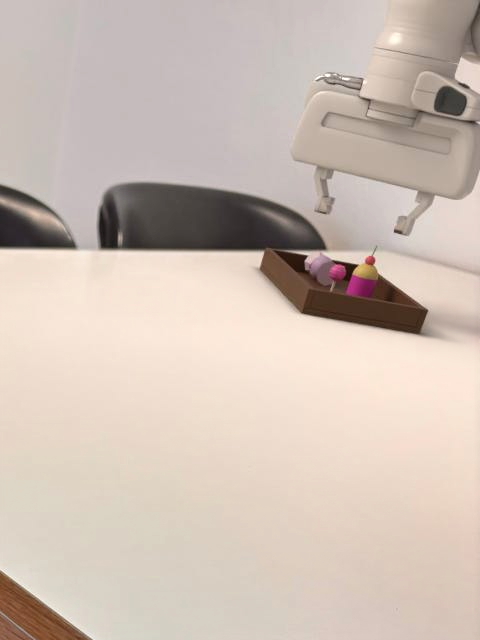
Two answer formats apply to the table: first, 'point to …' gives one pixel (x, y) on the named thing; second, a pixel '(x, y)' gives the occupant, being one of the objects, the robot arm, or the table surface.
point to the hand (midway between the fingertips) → (361, 223)
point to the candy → (343, 274)
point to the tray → (342, 295)
